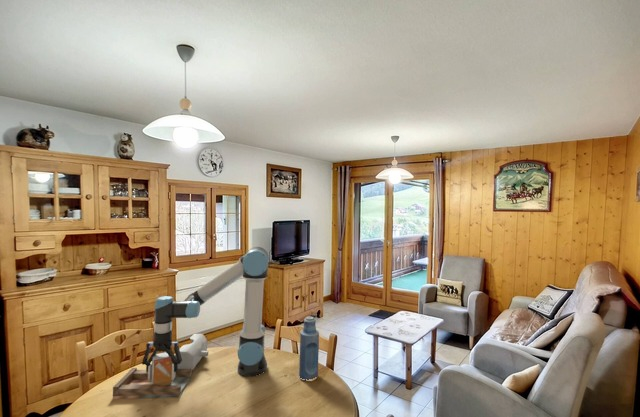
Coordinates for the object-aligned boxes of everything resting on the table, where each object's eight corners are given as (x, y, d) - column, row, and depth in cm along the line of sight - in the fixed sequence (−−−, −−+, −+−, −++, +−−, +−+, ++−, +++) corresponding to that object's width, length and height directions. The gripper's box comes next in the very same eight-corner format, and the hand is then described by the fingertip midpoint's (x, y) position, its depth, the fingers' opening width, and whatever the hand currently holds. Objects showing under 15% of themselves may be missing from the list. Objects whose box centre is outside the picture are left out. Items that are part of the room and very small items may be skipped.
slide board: (191, 377, 159) (191, 366, 159) (179, 397, 142) (179, 385, 142) (132, 378, 156) (132, 367, 157) (112, 398, 140) (113, 386, 140)
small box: (152, 389, 145) (153, 360, 145) (151, 382, 150) (151, 354, 150) (172, 384, 149) (173, 356, 149) (170, 378, 154) (170, 350, 154)
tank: (199, 377, 159) (199, 352, 159) (166, 377, 159) (167, 351, 159) (214, 354, 184) (215, 333, 184) (186, 354, 184) (186, 332, 184)
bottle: (314, 371, 168) (315, 313, 168) (320, 380, 158) (321, 319, 159) (296, 373, 165) (298, 315, 165) (301, 383, 155) (303, 321, 156)
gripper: (190, 327, 154) (189, 374, 154) (141, 327, 152) (140, 374, 152) (185, 333, 147) (183, 382, 147) (134, 333, 145) (132, 383, 145)
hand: (161, 378), depth 149 cm, fingers closed on small box, 10 cm apart
